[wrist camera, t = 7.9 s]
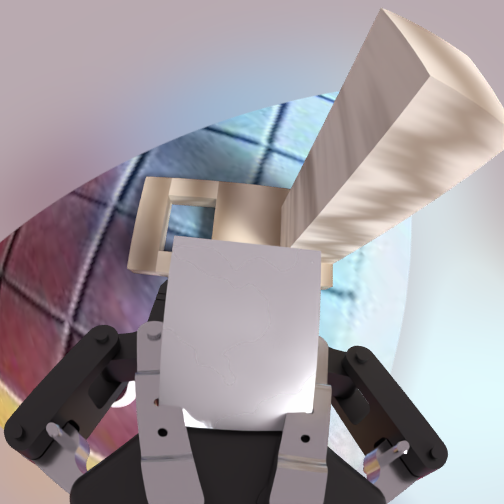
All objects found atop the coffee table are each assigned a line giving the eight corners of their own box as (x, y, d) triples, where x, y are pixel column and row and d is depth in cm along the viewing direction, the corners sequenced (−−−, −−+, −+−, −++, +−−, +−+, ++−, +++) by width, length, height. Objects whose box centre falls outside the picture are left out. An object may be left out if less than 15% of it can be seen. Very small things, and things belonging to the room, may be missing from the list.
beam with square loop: (133, 272, 29) (-48, 122, 4) (150, 186, 32) (80, -14, 6) (324, 289, 31) (539, 188, 5) (323, 203, 34) (450, 35, 8)
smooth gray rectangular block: (194, 364, 16) (158, 421, 6) (200, 289, 18) (174, 235, 7) (255, 369, 17) (309, 428, 6) (260, 294, 18) (321, 250, 7)
